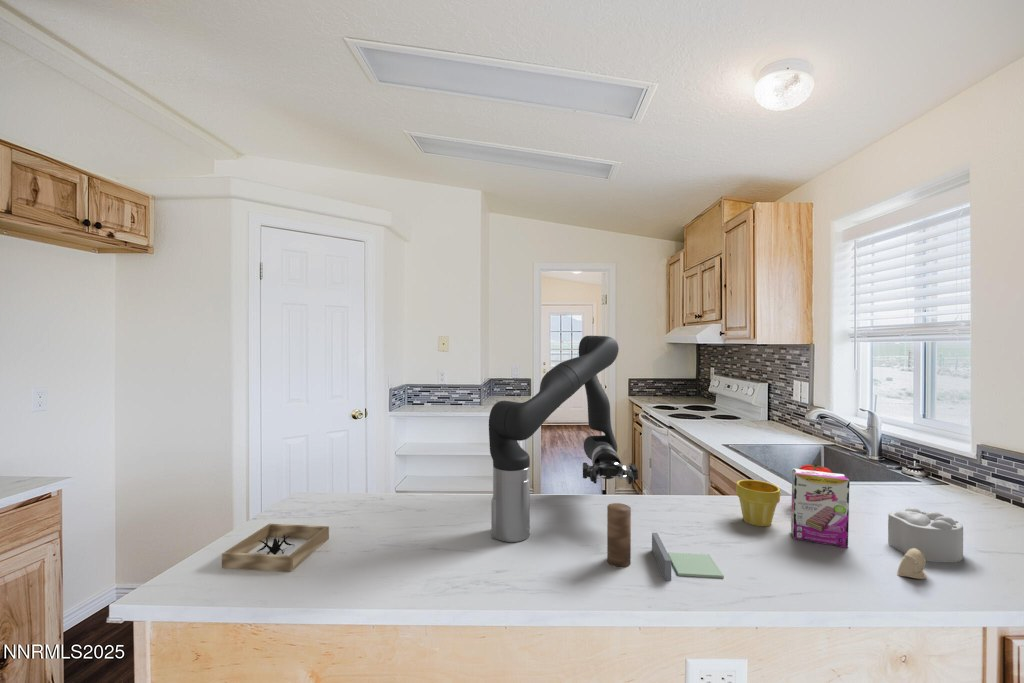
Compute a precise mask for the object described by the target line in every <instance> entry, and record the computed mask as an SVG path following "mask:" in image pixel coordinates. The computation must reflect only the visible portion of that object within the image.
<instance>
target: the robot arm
mask: <svg viewBox="0 0 1024 683" xmlns="http://www.w3.org/2000/svg"><path fill="white" fill-rule="evenodd" d="M618 355H619V343H618V342H617V340H616V339H615V338H613V337H611V336H608V335H607V336H606V335H585V336H583V337H582V338H581V340H580V341H579V344H578V356H576V357H573V358H569V359H567V360H565V361H562V362H560V363H558V364H557V365H555V366H553V368H551V369H550V370H548V371H547V372H546V373H545V374H544V375H543V377H542V379H541V381H540V386H539V391H538V393H536V394H535V395H534V396H532V397H531V398H530V399H528V400H526V401H523V402H519V401H518V402H517V401H511V400H499V401H497V402H496V403H494V404H493V406H492V407H491V410H490V413H489V417H488V418H489V419H488V436H489V437H488V439H489V441H488V443H489V454H490V457H491V460H492V498H491V503H490V504H491V511H490V512H491V514H490V515H491V517H490V518H491V519H490V520H491V528H490V529H491V532H490V533H491V539H495V540H498V541H501V542H507V543H508V542H509V543H516V542H521V541H525V540H527V539H528V538H529V537H530V535H531V534H530V533H531V532H530V531H531V525H530V524H531V522H530V521H531V520H530V519H531V518H530V517H531V516H530V515H531V512H530V511H531V510H530V508H531V507H530V506H531V505H530V504H531V502H530V501H531V496H530V495H531V493H530V492H531V490H530V486H531V479H530V478H531V476H530V474H531V469H530V468H531V466H530V465H531V462H530V454H529V452H527V451H526V450H525V449H524V448H522V447H521V445H520V444H519V443H518V441H519V442H520V441H526V440H528V439H529V438H531V437H532V436H533V435H534V434H535V433H536V432H537V430H539V428H540V427H541V426H542V425H543V423H545V422H546V420H547V419H548V418H549V417H550V416H551V415H552V414H553V413H554V412H555V411H556V410H558V408H559V407H560V406H561V405H562V404H563V403H565V402H566V401H567V400H568V399H570V398H571V397H572V396H573V395H574V394H575V393H576V392H577V391H579V390H580V389H581V388H582V387H583V386H584V388H585V393H586V400H587V401H586V402H587V420H588V427H589V428H590V429H591V430H592V431H598V432H602V433H604V435H602V434H601V435H590V436H587V437H586V438H584V439H585V440H584V441H583V450H584V454H585V455H586V457H587V458H588V459H589V460H591V463H592V464H591V465H590V464H588V463H587V462H582V479H585V480H586V479H588V478H589V480H590V482H593V484H597V482H598V480H600V479H601V478H602V479H605V480H612V479H614V478H617V479H619V480H626V482H627V484H628V485H632V483H634V480H639V469H638V467H637V466H636V465H635V463H633V462H632V463H629V464H628V465H627V466H626V465H624V464H623V463H622V462H621V460H620V458H619V456H618V455H619V454H618V444H617V440H616V437H615V436H614V432H613V429H612V421H611V419H612V418H611V406H610V405H611V404H610V400H609V398H608V395H607V393H606V392H605V389H604V388H603V387H602V384H601V382H600V380H599V377H598V375H597V374H599V373H600V372H602V371H604V370H606V369H607V368H609V367H610V366H611V365H613V363H614V362H615V361H616V359H617V357H618ZM597 479H598V480H597Z"/></svg>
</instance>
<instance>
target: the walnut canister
mask: <svg viewBox="0 0 1024 683" xmlns="http://www.w3.org/2000/svg"><path fill="white" fill-rule="evenodd" d="M606 510H607V511H606V512H607V515H606V516H607V517H606V518H607V524H606V526H607V528H606V529H607V531H606V532H607V533H606V535H607V537H606V540H607V541H606V543H607V544H606V545H607V547H606V549H607V550H606V553H607V554H606V557H607V558H606V560H607V561H608V562H607V563H608V564H609V565H610V566H612V567H615V568H623V569H624V568H628V567H629V566H631V565H632V564H631V563H632V562H631V558H632V557H631V555H632V552H631V551H632V548H631V546H632V545H631V542H632V539H631V537H632V536H631V535H632V533H631V530H632V529H631V528H632V527H631V526H632V522H631V521H632V517H631V516H632V508H631V506H629V505H628V504H625V503H618V502H615V503H609V504H608V505H607V509H606Z"/></svg>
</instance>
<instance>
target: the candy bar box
mask: <svg viewBox="0 0 1024 683" xmlns="http://www.w3.org/2000/svg"><path fill="white" fill-rule="evenodd" d="M849 509H850V479H849V478H848V477H847V476H846V475H845V474H844V473H835V472H833V473H828V472H819V471H811V470H802V469H799V468H792V469H791V510H790V512H791V514H790V518H791V520H790V524H791V525H790V531H791V534H792V538H793V539H794V540H799V541H806V542H811V543H817V544H823V545H828V546H835V547H841V548H846V549H847V548H848V547H849V527H850V526H849V521H850V518H849V517H850V515H849V514H850V510H849Z"/></svg>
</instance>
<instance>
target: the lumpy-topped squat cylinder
mask: <svg viewBox="0 0 1024 683" xmlns="http://www.w3.org/2000/svg"><path fill="white" fill-rule="evenodd" d="M887 515H888V516H887V517H888V518H887V519H888V520H887V527H888V528H887V543H888V544H887V545H889V546H891V547H893V548H894V549H897V550H899V551H900V552H902V553H903V554H904V555H905V554H906V553H907V551H908V550H910V549H912V548H916V549H918V550H919V551H921V552H922V553H923V555H924V557H925V560H926V561H927V562H938V563H957V562H960V561H962V560H963V559H964V526H963V524H962V522H960V521H958V520H955V519H953V518H952V517H949V516H945V515H944V514H942V513H940V512H937V511H928V512H925V511H921V510H920V509H918V508H916V507H913V506H911V507H907V508H906V509H905V510H898V511H890V512H889V513H888V514H887Z"/></svg>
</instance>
